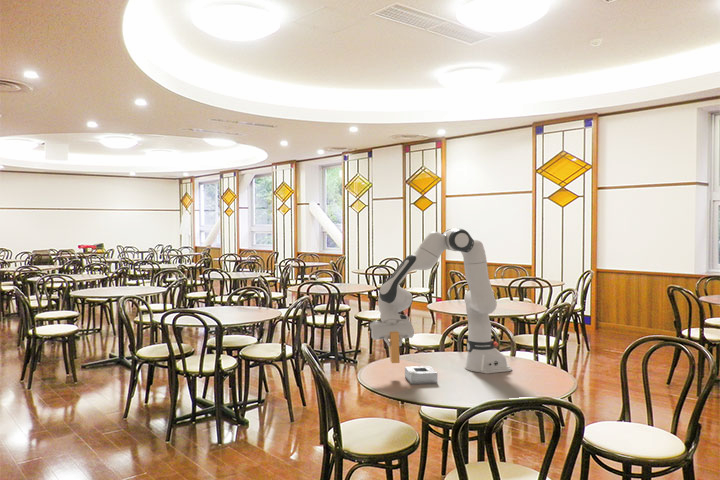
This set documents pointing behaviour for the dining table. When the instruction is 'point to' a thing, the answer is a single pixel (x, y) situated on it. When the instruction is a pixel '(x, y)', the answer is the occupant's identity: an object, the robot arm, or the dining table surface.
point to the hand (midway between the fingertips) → (395, 345)
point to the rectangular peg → (394, 347)
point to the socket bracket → (421, 375)
